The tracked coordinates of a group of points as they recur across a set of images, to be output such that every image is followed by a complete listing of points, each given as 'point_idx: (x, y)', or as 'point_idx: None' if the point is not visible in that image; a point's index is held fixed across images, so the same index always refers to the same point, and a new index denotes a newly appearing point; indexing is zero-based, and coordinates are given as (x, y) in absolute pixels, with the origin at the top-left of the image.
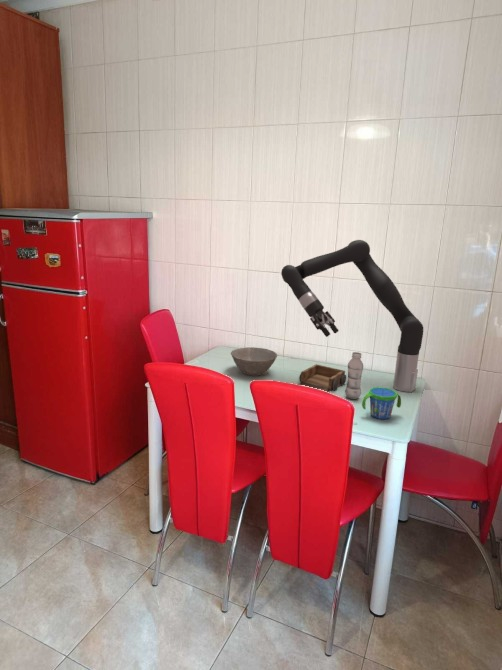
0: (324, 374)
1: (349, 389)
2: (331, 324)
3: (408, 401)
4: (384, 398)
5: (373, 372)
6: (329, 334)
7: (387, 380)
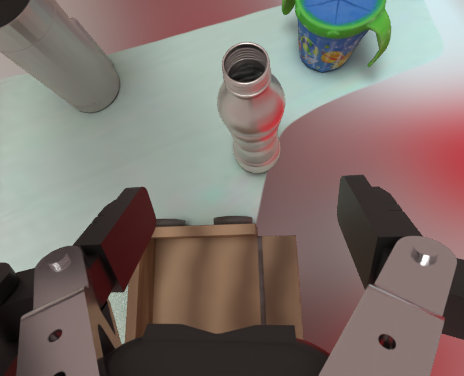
0: (150, 307)
1: (278, 145)
2: (97, 277)
3: (179, 46)
4: None
5: (5, 202)
6: (361, 176)
7: (55, 143)
